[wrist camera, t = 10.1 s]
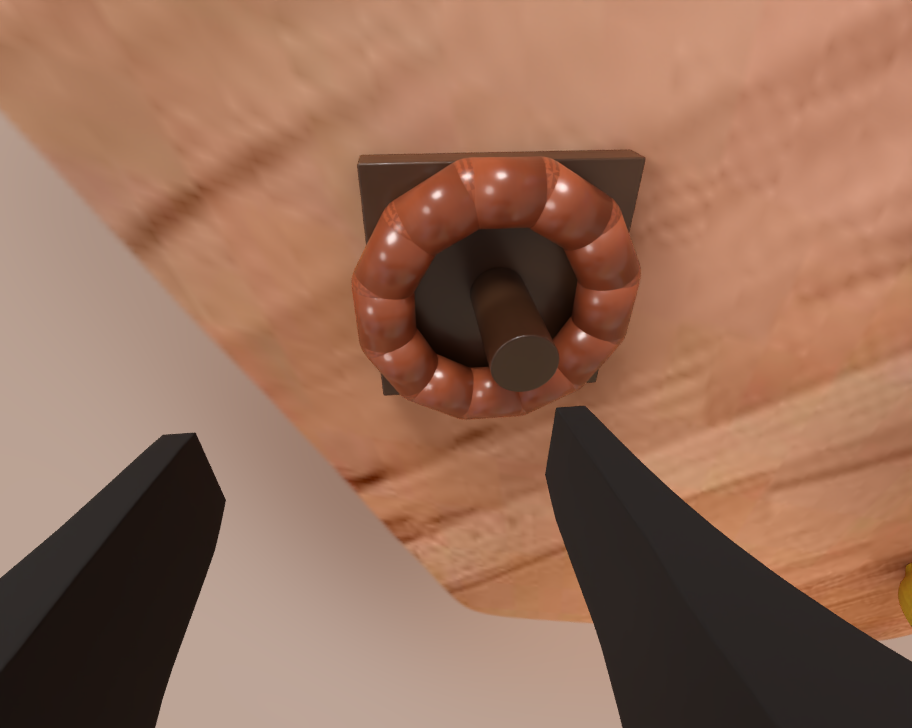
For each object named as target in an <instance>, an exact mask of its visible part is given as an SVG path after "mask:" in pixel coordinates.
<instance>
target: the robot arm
mask: <svg viewBox="0 0 912 728" xmlns="http://www.w3.org/2000/svg"><path fill="white" fill-rule="evenodd" d="M545 476H546V480H547V484H548V489H549V493H550V498H551V502H552V506H553V510H554V514H555V518H556V521H557V524H558V527H559V530H560V533H561V535H562V538H563V541H564V544H565V547H566V549H567V552H568V555H569V558H570V560H571V563H572V566H573V569H574V571H575V574H576V577H577V579H578V582H579V585H580V588H581V590H582V593H583V596H584V599H585V601H586V604H587V607H588V609H589V612H590V615H591V618H592V620H593V623H594V626H595V629H596V632H597V635H598V638H599V642H600V644H601V648H602V651H603V655H604V659H605V662H606V666H607V670H608V674H609V677H610V681H611V685H612V689H613V692H614V696H615V700H616V704H617V707H618V711H619V715H620V719H621V723H622V727H623V728H912V662H911V661H910V660H908V659H906V658H905V657H903V656H901V655H900V654H898V653H896V652H895V651H893V650H891V649H890V648H888V647H886V646H885V645H883V644H881V643H880V642H878V641H877V640H875V639H873V638H872V637H870V636H869V635H867V634H866V633H864V632H862V631H861V630H859V629H858V628H856V627H854V626H853V625H851V624H850V623H848V622H846V621H845V620H843V619H842V618H840V617H839V616H837V615H836V614H834V613H833V612H831V611H830V610H828V609H827V608H825V607H824V606H822V605H821V604H819V603H818V602H816V601H815V600H813V599H812V598H810V597H809V596H807V595H806V594H804V593H803V592H801V591H800V590H798V589H797V588H796V587H794V586H793V585H791V584H790V583H788V582H787V581H786V580H784V579H783V578H781V577H780V576H778V575H777V574H776V573H774V572H773V571H771V570H770V569H769V568H767V567H766V566H765V565H763V564H762V563H761V562H759V561H758V560H757V559H755V558H754V557H753V556H751V555H750V554H749V553H747V552H746V551H745V550H743V549H742V548H741V547H739V546H738V545H737V544H735V543H734V542H733V541H731V540H730V539H729V538H728V537H726V536H725V535H724V534H723V533H721V532H720V531H719V530H718V529H716V528H715V527H714V526H713V525H711V524H710V523H709V522H708V521H707V520H706V519H704V518H703V517H702V516H701V515H700V514H698V513H697V512H696V511H695V510H694V509H693V508H691V507H690V506H689V505H688V504H687V503H685V502H684V501H683V500H682V499H681V498H680V497H679V496H678V495H676V494H675V493H674V492H673V491H672V490H671V489H670V488H669V487H668V486H667V485H665V484H664V483H663V482H662V481H661V480H660V479H659V478H658V477H657V476H656V475H655V474H654V473H653V472H652V471H650V470H649V469H648V468H647V467H646V466H645V465H644V464H643V463H642V462H641V461H640V460H639V459H638V458H637V457H636V456H635V455H634V454H633V453H632V452H631V451H630V450H629V449H628V448H627V447H626V446H625V445H624V444H623V443H622V442H621V441H620V440H619V439H618V438H617V437H616V436H615V435H614V434H613V433H612V432H611V431H610V430H609V429H608V428H607V427H606V426H605V425H604V424H603V423H602V422H601V421H600V420H599V419H598V418H597V417H596V416H595V415H594V414H593V413H592V412H591V411H590V410H589V409H588V408H587V407H586V406H574V407H559V408H556V412H555V418H554V424H553V430H552V436H551V442H550V448H549V454H548V460H547V467H546V473H545ZM225 501H226V499H225V497H224V495H223V493H222V491H221V488H220V486H219V484H218V482H217V479H216V477H215V475H214V473H213V471H212V469H211V466H210V464H209V462H208V460H207V457H206V455H205V453H204V451H203V448H202V446H201V444H200V442H199V440H198V437H197V435H196V433H183V434H168V435H162V436H161V437H160V438H159V439H158V440H156V441H155V442H154V443H153V444H152V445H151V446H149V447H148V448H147V449H146V450H145V451H144V452H143V453H142V454H141V455H139V456H138V457H137V458H136V459H135V460H134V461H133V462H132V463H131V464H130V465H129V466H128V467H126V468H125V469H124V470H123V471H122V472H121V473H120V474H119V475H118V476H117V477H116V478H115V479H113V480H112V481H111V482H110V483H109V484H108V485H107V486H106V487H105V488H104V489H102V490H101V491H100V492H99V493H98V494H97V495H96V496H95V497H94V498H92V499H91V500H90V501H89V502H88V503H87V504H86V505H85V506H84V507H82V508H81V509H80V510H79V511H78V512H77V513H76V514H75V515H74V516H72V517H71V518H70V519H69V520H68V521H67V522H66V523H65V524H64V525H62V526H61V527H60V528H59V529H58V530H57V531H56V532H54V533H53V534H52V535H51V536H50V537H49V538H47V539H46V540H45V541H44V542H43V543H42V544H40V545H39V546H38V547H37V548H35V549H34V550H33V551H32V552H31V553H30V554H28V555H27V556H26V557H25V558H24V559H23V560H21V561H20V562H19V563H18V564H17V565H15V566H14V567H13V568H12V569H11V570H9V571H8V572H7V573H6V574H5V575H4V576H2V577H1V578H0V728H155V726H156V722H157V718H158V715H159V711H160V707H161V703H162V699H163V696H164V693H165V690H166V687H167V683H168V680H169V677H170V674H171V671H172V668H173V665H174V663H175V660H176V657H177V654H178V652H179V648H180V646H181V643H182V641H183V638H184V635H185V632H186V629H187V627H188V624H189V621H190V619H191V616H192V613H193V610H194V607H195V605H196V602H197V599H198V597H199V594H200V591H201V588H202V585H203V583H204V580H205V577H206V574H207V571H208V569H209V565H210V563H211V560H212V557H213V554H214V551H215V547H216V543H217V539H218V534H219V530H220V526H221V521H222V516H223V512H224V507H225Z"/></svg>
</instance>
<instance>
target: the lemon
mask: <svg viewBox="0 0 912 728" xmlns="http://www.w3.org/2000/svg"><path fill="white" fill-rule="evenodd" d="M898 599H899V603H900V606H901V609H902V611H903V613H904V615H905V617H906V619H907V620H908V622H909V623H910V625H911V626H912V563H910V564H908V565H907V566H906V570H905V577H904V579H903V580H902V581H901V583H900V586H899V590H898Z"/></svg>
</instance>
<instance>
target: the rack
mask: <svg viewBox="0 0 912 728" xmlns="http://www.w3.org/2000/svg"><path fill="white" fill-rule="evenodd" d="M531 156H542V157H548V158H551V159H554V160H555V161H557V162H559V163H561V164H562V165H564V166H565V167H567V168H568V169H570V170H571V171H573V172H574V173H576V174H577V175H579V176H580V177H582V178H583V179H585V180H586V181H588V182H589V183H591V184H592V185H594V186H595V187H597V188H598V189H600V190H601V191H603V192H604V193H606V194H607V195H609V196H610V197H611V198H613V199H614V200H615V202H616V203H617V204H618V206H619V208H620V210H621V212H622V215H623V218H624V221H625V224H626V227H627V230H628V233H629V231H630V226H631V222H632V217H633V213H634V209H635V204H636V200H637V195H638V191H639V186H640V182H641V177H642V173H643V168H644V164H645V157H643V156H641V155H640V154H638V153H636V152H634V151H632V150H587V151H538V152H488V153H438V154H389V155H360V157H359V161H358V164H357V168H358V177H359V186H360V195H361V204H362V212H363V221H364V230H365V239H366V245H367V243H368V241H369V239H370V237H371V235H372V233H373V231H374V229H375V227H376V225H377V223H378V221H379V219H380V217H381V215H382V213H383V211H384V209H385V208H386V207H387V206H388V204H389V203H390V202H392V201H393V200H395V199H396V198H398V197H399V196H401V195H403V194H404V193H406V192H407V191H409V190H410V189H412V188H414V187H415V186H417V185H418V184H420V183H422V182H423V181H425V180H426V179H428V178H429V177H431V176H433V175H434V174H436V173H437V172H439V171H441V170H442V169H444V168H445V167H447V166H448V165H450V164H452V163H453V162H455V161H457V160H459V159H463V158H470V157H531ZM577 281H578V280H577V278H576V275H575V273H574V271H573V269H572V267H571V264H570V262H569V260H568V258H567V255H566V253H565V251H564V249H563V248H562V247H560V246H558V245H557V244H555V243H553V242H552V241H550V240H548V239H546V238H545V237H543V236H541V235H539V234H538V233H536V232H534V231H533V230H531V229H529V228H508V229H479V230H477V231H476V232H474V233H472V234H470V235H469V236H467V237H465V238H464V239H462V240H460V241H459V242H457V243H455V244H453V245H452V246H450V247H448V248H447V249H445V250H443V251H442V252H440V253H438V254H436V256H435V257H434V259H433V261H432V262H431V264H430V266H429V268H428V269H427V271H426V273H425V275H424V276H423V278H422V280H421V281H420V283H419V285H418V287H417V288H416V290H415V292H414V293H415V313H416V327H417V329H418V330H419V331H420V333H421V334H422V335H423V337H424V338H425V339H426V341H427V342H428V343H429V345H430V346H431V347H432V349H433V350H434V351H435V353H436V354H438V355H441V356H443V357H445V358H448V359H450V360H453V361H455V362H457V363H460V364H462V365H465V366H467V367H469V368H474V367H489V368H490V372H491V375H492V377H493V379H494V381H495V382H496V383H497V384H498V385H499V386H501V387H502V388H504V389H506V390H509V391H514V392H525V391H530V390H534V389H536V388H538V387H540V386H542V385H544V384H545V383H546V382H548V381H549V380H550V379H551V378H552V377H553V375H554V374H555V372H556V370H557V368H558V364H559V353H558V350H557V348H556V346H555V344H554V342H553V338H554V337H555V336H556V335H557V333H558V332H559V331H560V330H561V328H562V327H563V326H564V325H565V323H566V322H567V321H568V320H569V318H570V317H571V316H572V310H573V304H574V298H575V292H576V287H577ZM597 374H598V370H597V371H596V372H595V373H594V374H593V375H592V377H591V378H590V379H589V380H588V381H587V382H586V383H592V382H596V378H597ZM381 379H382V388H383V394H384V395H385V396H387V395H400V394H399V393H398V392H397V391H396V389H395V388H394V387H393V386H392V385H391V384H390V383H389V381H388V380H387V379H386V378H385V377H384V376H383V374H382V373H381Z"/></svg>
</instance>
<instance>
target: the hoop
mask: <svg viewBox="0 0 912 728" xmlns="http://www.w3.org/2000/svg"><path fill="white" fill-rule="evenodd" d="M508 228H529V229H531V230H533V231H534V232H536V233H538V234H539V235H541V236H543V237H545V238H546V239H548V240H550V241H552V242H553V243H555V244H557V245H558V246H560V247H562V248H563V249H564V251H565V253H566V255H567V258H568V260H569V262H570V264H571V267H572V269H573V271H574V273H575V275H576V278H577V280H578V281H577V287H576V292H575V298H574V304H573V310H572V316H571V317H570V318H569V320H568V321H567V322H566V323H565V325H564V326H563V327H562V328H561V330H560V331H559V332H558V333H557V335H556V336H555V337H554V338H553V342H554V344H555V346H556V348H557V350H558V353H559V364H558V368H557V370H556V372H555V374H554V375H553V377H552V378H551V379H550V380H549V381H548V382H546V383H545V384H544V385H542V386H540V387H538V388H536V389H534V390H530V391H525V392H514V391H509V390H506V389H504V388H502V387H501V386H499V385H498V384H497V383H496V382H495V381H494V379H493V377H492V375H491V372H490V368H489V367H474V368H469V367H467V366H465V365H462V364H460V363H457V362H455V361H453V360H450V359H448V358H445V357H443V356H441V355H438V354H436V353H435V351H434V350H433V349H432V347H431V346H430V345H429V343H428V342H427V341H426V339H425V338H424V337H423V335H422V334H421V333H420V331H419V330H418V329H417V327H416V313H415V293H414V292H415V290H416V288H417V287H418V285H419V283H420V281H421V280H422V278H423V276H424V275H425V273H426V271H427V269H428V268H429V266H430V264H431V262H432V261H433V259H434V257H435V256H436V254H438V253H440V252H442V251H443V250H445V249H447V248H448V247H450V246H452V245H453V244H455V243H457V242H459V241H460V240H462V239H464V238H465V237H467V236H469V235H470V234H472V233H474V232H476V231H477V230H479V229H508ZM640 277H641V269H640V264H639V261H638V258H637V256H636V253H635V250H634V247H633V244H632V241H631V238H630V235H629V233H628V230H627V227H626V224H625V221H624V218H623V215H622V212H621V210H620V208H619V206H618V204H617V203H616V202H615V200H614V199H613V198H611V197H610V196H609V195H607V194H606V193H604V192H603V191H601V190H600V189H598V188H597V187H595V186H594V185H592V184H591V183H589V182H588V181H586V180H585V179H583V178H582V177H580V176H579V175H577V174H576V173H574V172H573V171H571V170H570V169H568V168H567V167H565V166H564V165H562V164H561V163H559V162H557V161H555V160H554V159H551V158H548V157H542V156H531V157H470V158H463V159H459V160H457V161H455V162H453V163H452V164H450V165H448V166H447V167H445V168H444V169H442V170H441V171H439V172H437V173H436V174H434V175H433V176H431V177H429V178H428V179H426V180H425V181H423V182H422V183H420V184H418V185H417V186H415V187H414V188H412V189H410V190H409V191H407V192H406V193H404V194H403V195H401V196H399V197H398V198H396V199H395V200H393V201H392V202H390V203H389V204H388V206H387V207H386V208H385V209H384V211H383V213H382V215H381V217H380V219H379V221H378V223H377V225H376V227H375V229H374V231H373V233H372V235H371V237H370V239H369V241H368V243H367V245H366V247H365V249H364V251H363V253H362V255H361V257H360V259H359V261H358V263H357V266H356V268H355V270H354V272H353V275H352V292H353V299H354V307H355V314H356V321H357V329H358V336H359V342H360V346H361V348H362V350H363V352H364V354H365V355H366V356H367V357H368V358H369V360H370V361H371V362H372V363H373V364H374V365H375V366H376V368H377V369H378V370H379V371H380V372H381V373H382V374H383V376H384V377H385V378H386V379H387V380H388V381H389V383H390V384H391V385H392V386H393V387H394V388H395V389H396V391H397V392H398V393H399V394H400V395H401V396H403V397H404V398H405V399H407V400H409V401H412V402H415V403H418V404H420V405H423V406H426V407H428V408H431V409H434V410H436V411H439V412H442V413H445V414H447V415H450V416H453V417H455V418H459V419H481V418H497V417H512V416H522V415H526V414H528V413H530V412H533V411H535V410H537V409H539V408H541V407H543V406H545V405H547V404H549V403H551V402H553V401H556V400H558V399H560V398H562V397H564V396H566V395H568V394H570V393H572V392H574V391H576V390H578V389H580V388H581V387H582V386H583V385H584V384H585V383H586V382H587V381H588V380H589V379H590V378H591V377H592V375H593V374H594V373H595V372H596V371H597V370H598V369H599V368H600V366H601V365H602V364H603V363H604V362H605V361H606V360H607V359H608V357H609V356H610V355H611V354H612V353H613V352H614V351H615V350H616V348H617V347H618V346H619V345H620V344H621V342H622V341H623V340H624V338H625V335H626V333H627V329H628V325H629V321H630V317H631V313H632V309H633V305H634V302H635V298H636V294H637V290H638V286H639V282H640Z"/></svg>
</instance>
